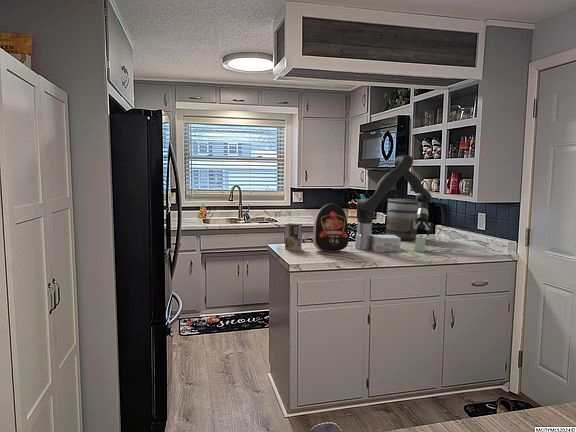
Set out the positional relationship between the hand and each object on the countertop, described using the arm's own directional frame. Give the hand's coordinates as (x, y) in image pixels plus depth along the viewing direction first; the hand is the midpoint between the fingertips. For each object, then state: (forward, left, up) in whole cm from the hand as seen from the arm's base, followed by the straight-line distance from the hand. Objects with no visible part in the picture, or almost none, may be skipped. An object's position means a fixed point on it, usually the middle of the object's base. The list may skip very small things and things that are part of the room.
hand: (420, 235), depth 281 cm
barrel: (+17, +43, -10) cm, 47 cm away
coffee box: (-82, +21, -10) cm, 86 cm away
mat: (-3, -4, -10) cm, 12 cm away
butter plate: (-16, -12, -10) cm, 23 cm away
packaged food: (-61, +11, -10) cm, 63 cm away
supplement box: (-23, +7, -11) cm, 27 cm away
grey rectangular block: (-3, -4, -10) cm, 11 cm away
